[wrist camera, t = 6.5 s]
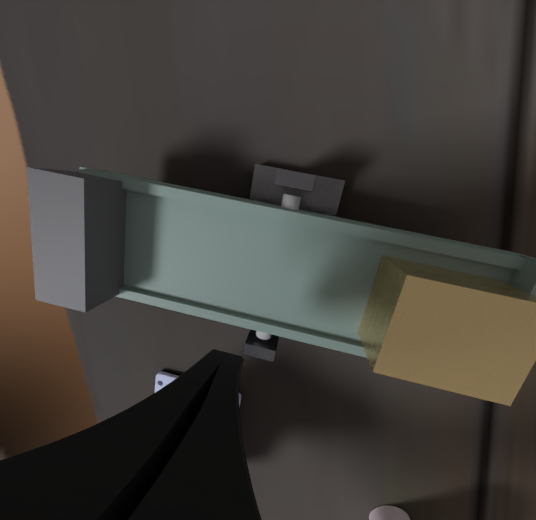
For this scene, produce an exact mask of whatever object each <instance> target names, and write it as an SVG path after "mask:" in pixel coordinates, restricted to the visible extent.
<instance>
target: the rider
mask: <svg viewBox="0 0 536 520" xmlns="http://www.w3.org/2000/svg"><path fill="white" fill-rule="evenodd" d="M358 335H359V337H360V340H361V343H362V345H363V348H364V351H365V353H366V356H367V359H368V361H369V364H370V367H371V369H372V372H374V373H378V374H383V375H387V376H391V377H395V378H399V379H403V380H407V381H411V382H415V383H419V384H423V385H427V386H431V387H435V388H439V389H443V390H447V391H451V392H455V393H459V394H463V395H467V396H471V397H475V398H479V399H483V400H487V401H491V402H495V403H499V404H503V405H507V406H511V404H512V402H513V400H514V399H515V397H516V395H517V393H518V391H519V390H520V388H521V386H522V384H523V382H524V381H525V379H526V377H527V375H528V373H529V372H530V370H531V368H532V366H533V364H534V363H535V361H536V296H535V295H533V294H530V293H528V292H526V291H523V290H521V289H519V288H517V287H514V286H512V285H510V284H508V283H505V282H503V281H501V280H498V279H493V278H489V277H484V276H479V275H474V274H469V273H465V272H460V271H455V270H450V269H445V268H441V267H436V266H431V265H426V264H422V263H417V262H412V261H407V260H402V259H398V258H393V257H388V256H383V255H382V258H381V261H380V264H379V267H378V270H377V273H376V277H375V280H374V283H373V286H372V289H371V292H370V295H369V298H368V302H367V305H366V308H365V311H364V314H363V317H362V320H361V323H360V327H359V330H358Z"/></svg>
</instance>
